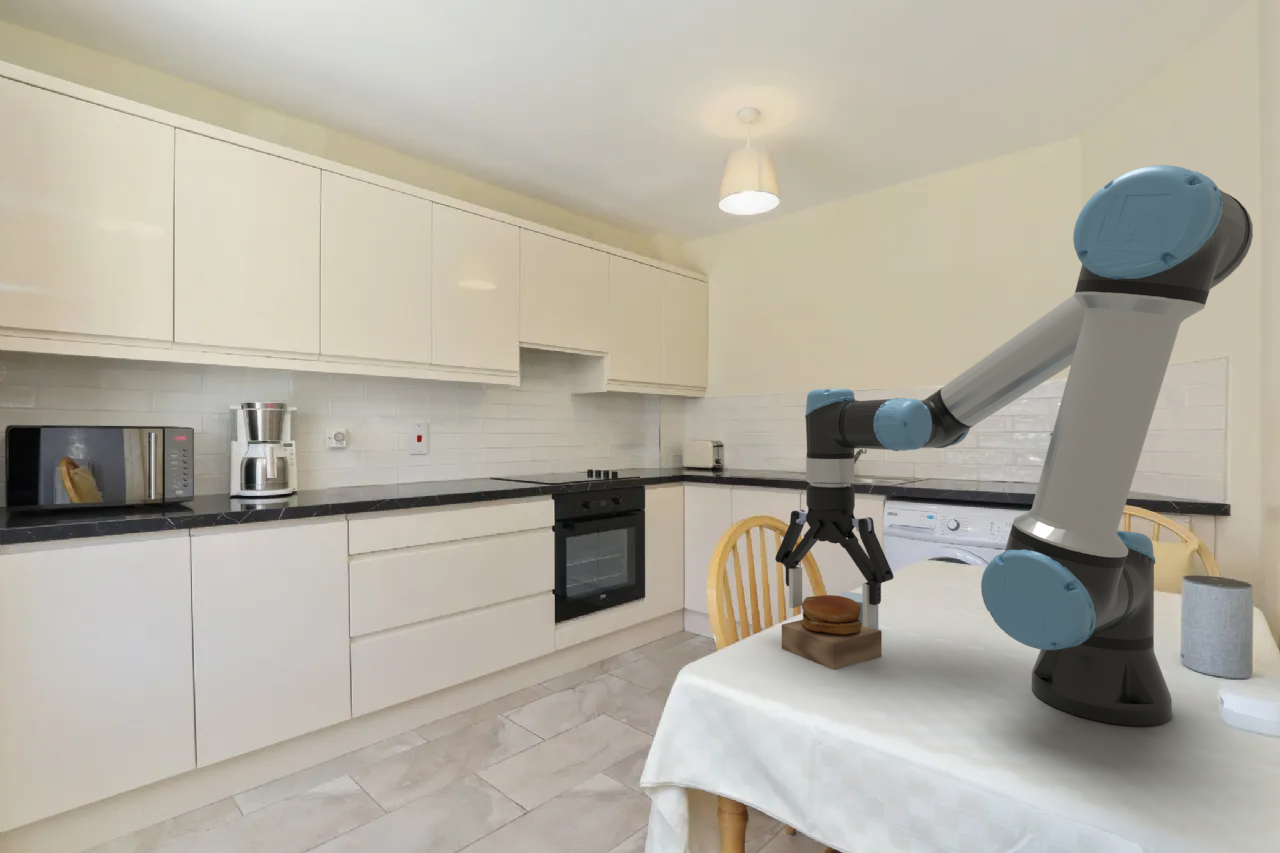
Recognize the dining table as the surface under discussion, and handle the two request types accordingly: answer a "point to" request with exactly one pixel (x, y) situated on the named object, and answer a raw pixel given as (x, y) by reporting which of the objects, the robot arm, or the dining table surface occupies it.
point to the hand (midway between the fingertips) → (830, 615)
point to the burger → (831, 614)
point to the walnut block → (832, 645)
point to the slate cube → (859, 599)
